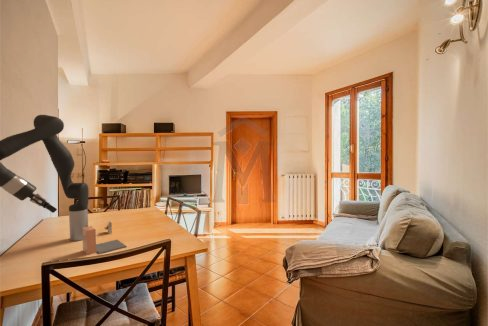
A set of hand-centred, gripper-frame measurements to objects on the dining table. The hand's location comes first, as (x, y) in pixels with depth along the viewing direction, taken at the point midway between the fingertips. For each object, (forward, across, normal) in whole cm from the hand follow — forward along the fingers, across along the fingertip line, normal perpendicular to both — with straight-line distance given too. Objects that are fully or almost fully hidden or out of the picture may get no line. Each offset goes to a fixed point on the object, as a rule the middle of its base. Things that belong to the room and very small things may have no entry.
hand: (55, 210), depth 116 cm
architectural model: (+38, +26, -5) cm, 46 cm away
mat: (+32, -1, 0) cm, 32 cm away
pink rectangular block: (+26, -1, +7) cm, 27 cm away
